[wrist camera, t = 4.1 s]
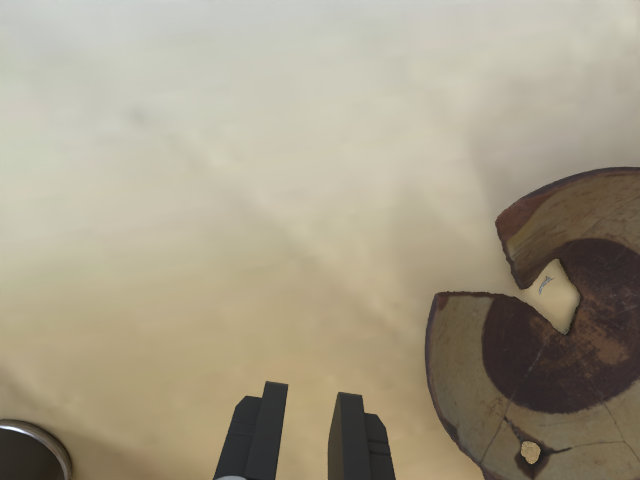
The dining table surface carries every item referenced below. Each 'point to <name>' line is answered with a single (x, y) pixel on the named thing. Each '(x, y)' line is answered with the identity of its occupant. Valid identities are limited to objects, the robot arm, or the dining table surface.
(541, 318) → the broken ceramic bowl
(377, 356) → the dining table surface
